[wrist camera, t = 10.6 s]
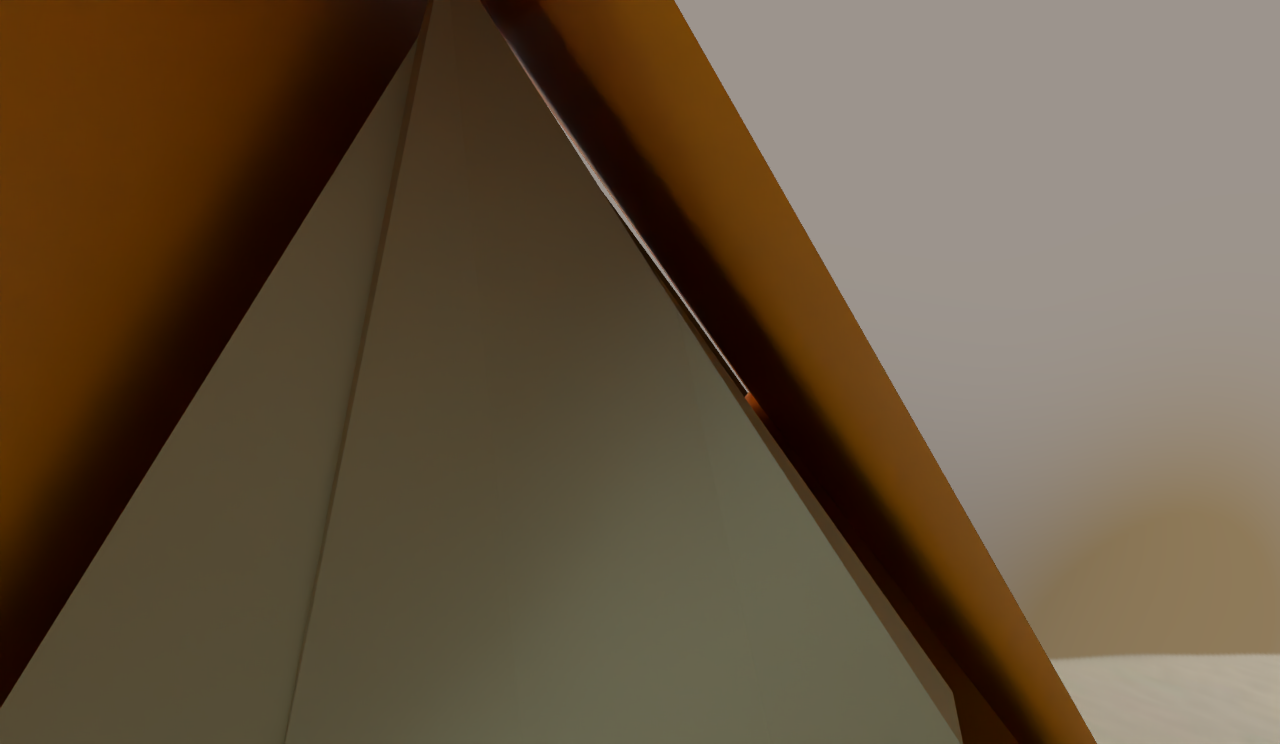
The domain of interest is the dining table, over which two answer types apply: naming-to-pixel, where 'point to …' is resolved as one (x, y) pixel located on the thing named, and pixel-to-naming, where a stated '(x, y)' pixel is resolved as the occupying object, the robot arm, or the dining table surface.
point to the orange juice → (450, 401)
